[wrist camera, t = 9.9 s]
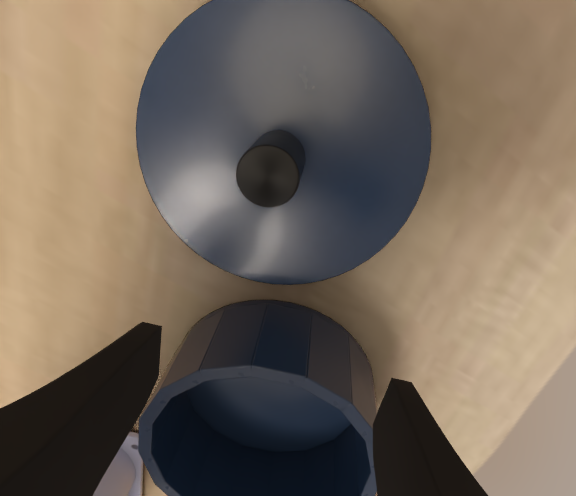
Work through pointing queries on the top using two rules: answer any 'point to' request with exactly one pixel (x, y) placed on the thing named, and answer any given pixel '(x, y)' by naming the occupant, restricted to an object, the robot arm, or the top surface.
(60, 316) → the top surface
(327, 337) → the pot
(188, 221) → the pot lid
